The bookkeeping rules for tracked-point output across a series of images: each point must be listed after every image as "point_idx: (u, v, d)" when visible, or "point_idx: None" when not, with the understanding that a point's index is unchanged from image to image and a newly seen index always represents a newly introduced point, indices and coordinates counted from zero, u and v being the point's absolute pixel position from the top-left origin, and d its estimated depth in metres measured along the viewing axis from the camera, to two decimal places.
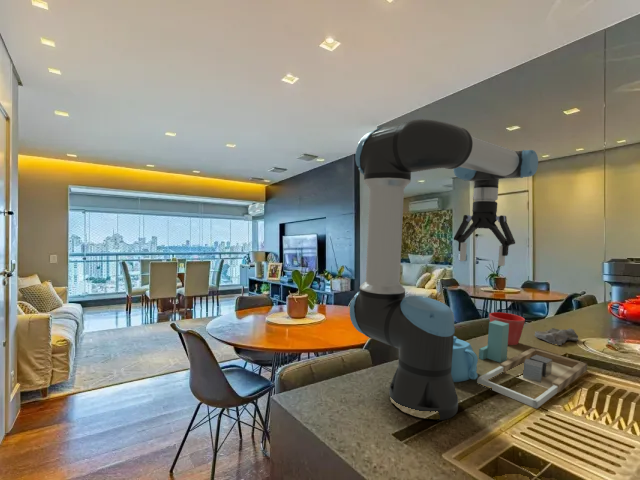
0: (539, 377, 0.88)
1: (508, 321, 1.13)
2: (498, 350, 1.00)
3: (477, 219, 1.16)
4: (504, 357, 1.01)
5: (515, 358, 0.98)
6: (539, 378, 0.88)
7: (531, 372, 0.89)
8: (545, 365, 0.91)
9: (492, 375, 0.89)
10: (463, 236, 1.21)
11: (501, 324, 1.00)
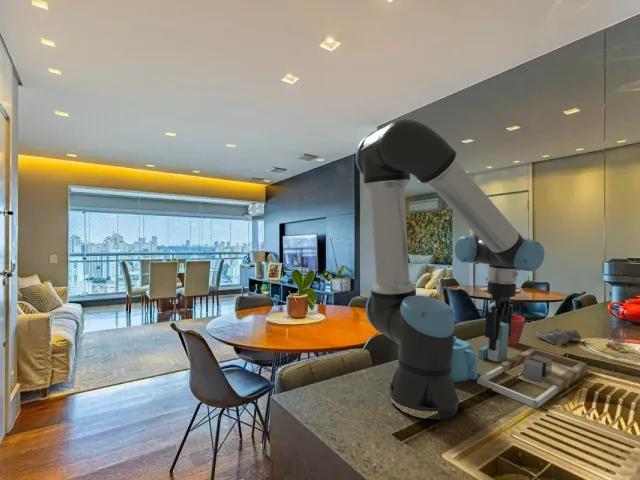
0: (539, 377, 0.88)
1: None
2: None
3: None
4: (504, 357, 1.01)
5: (515, 358, 0.98)
6: (539, 378, 0.88)
7: (531, 372, 0.89)
8: (545, 365, 0.91)
9: (492, 375, 0.89)
10: None
11: (501, 324, 1.00)
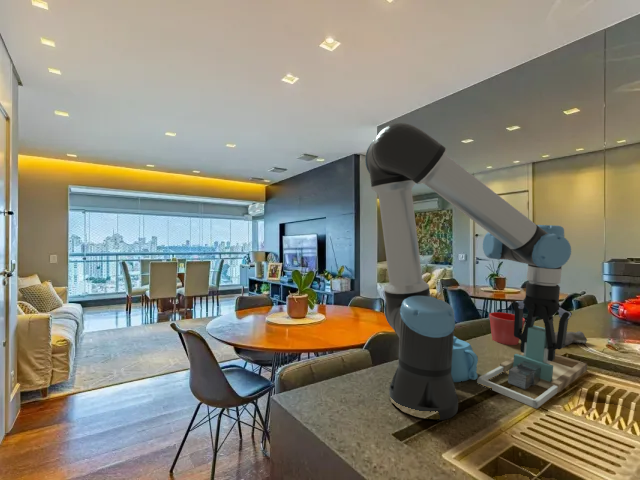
0: (523, 385, 0.84)
1: (508, 321, 1.13)
2: None
3: (532, 306, 0.90)
4: None
5: None
6: (523, 386, 0.84)
7: (515, 380, 0.85)
8: (533, 372, 0.86)
9: (492, 375, 0.89)
10: (525, 332, 0.93)
11: (544, 328, 0.91)
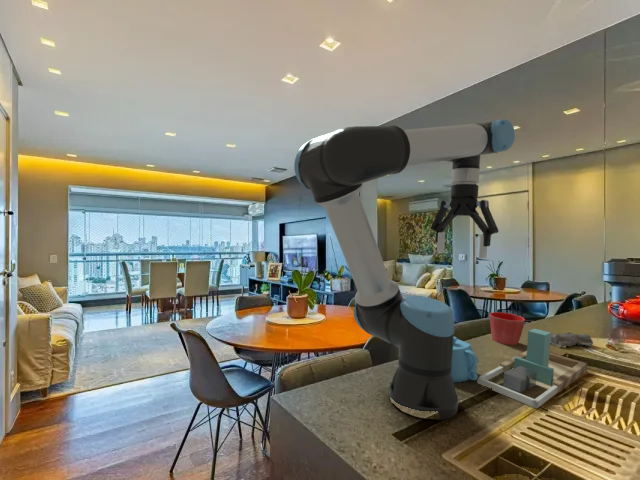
0: (518, 389, 0.82)
1: (508, 321, 1.13)
2: (547, 360, 0.91)
3: (456, 205, 1.01)
4: None
5: None
6: (518, 390, 0.82)
7: (510, 383, 0.84)
8: (529, 378, 0.84)
9: (492, 375, 0.89)
10: (441, 225, 1.06)
11: (544, 332, 0.91)
